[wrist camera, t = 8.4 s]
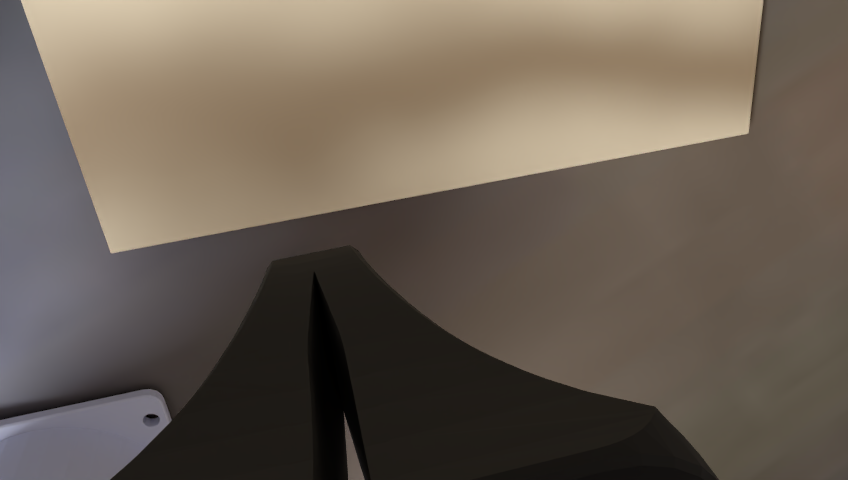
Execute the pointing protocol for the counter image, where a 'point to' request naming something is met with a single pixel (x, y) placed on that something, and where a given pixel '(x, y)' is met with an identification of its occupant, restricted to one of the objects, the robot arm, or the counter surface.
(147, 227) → the board
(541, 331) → the counter surface
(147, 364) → the counter surface
